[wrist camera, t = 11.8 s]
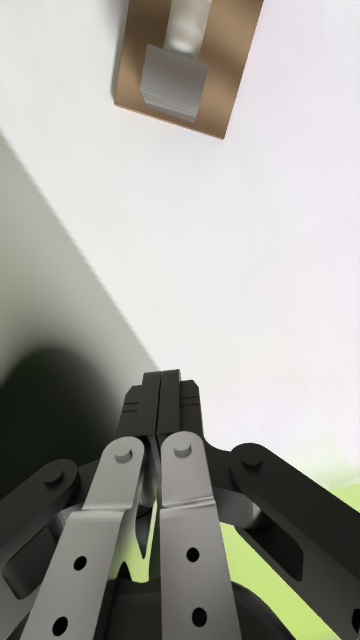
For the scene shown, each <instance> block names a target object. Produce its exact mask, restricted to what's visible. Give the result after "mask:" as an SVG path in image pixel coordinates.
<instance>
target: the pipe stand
mask: <svg viewBox="0 0 360 640" xmlns="http://www.w3.org/2000/svg"><path fill="white" fill-rule="evenodd" d="M263 1H264V0H130V1H129V8H128V15H127V21H126V28H125V34H124V41H123V48H122V54H121V61H120V68H119V74H118V81H117V87H116V94H115V101H114V104H115V105H116V106H118V107H121V108H124V109H127V110H131V111H134V112H137V113H140V114H143V115H146V116H150V117H153V118H156V119H159V120H162V121H165V122H168V123H172V124H175V125H178V126H181V127H184V128H187V129H191V130H194V131H197V132H200V133H203V134H206V135H210V136H213V137H216V138H219V139H222V140H223V139H224V137H225V134H226V130H227V127H228V123H229V120H230V116H231V113H232V109H233V106H234V102H235V99H236V95H237V92H238V88H239V85H240V81H241V78H242V74H243V71H244V67H245V64H246V60H247V57H248V53H249V50H250V46H251V43H252V39H253V36H254V32H255V29H256V25H257V22H258V18H259V15H260V11H261V8H262V4H263Z"/></svg>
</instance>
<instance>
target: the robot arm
mask: <svg viewBox="0 0 360 640" xmlns="http://www.w3.org/2000/svg"><path fill="white" fill-rule="evenodd" d="M157 484H162V501H163V502H162V507H161V508H160V543H161V544H160V545H161V546H160V547H161V576H160V577H158V578H155V579H152V580H150V581H149V578H148V568H149V558H150V552H151V545H152V538H153V531H154V524H155V516H156V510H157V501H156V494H157ZM219 521H220V522H223V523H227V524H230V525H234V527H235V529H236V531H237V532H238V533H239V535H240V536H241V537H242V538H243V539H244V540H245V541H246V542H247V543H248V544H249V545H250V546H251V547H252V548H253V549H254V550H255V551H256V552H257V553H258V554H259V555H260V556H261V557H262V558H263V559H264V560H265V561H266V562H267V563H268V564H269V565H270V566H271V568H272V569H274V571H275V572H276V573H277V574H278V575H279V576H280V577H281V578H282V579H283V580H284V581H285V582H286V583H287V584H288V585H289V586H290V587H291V588H292V589H293V590H294V591H295V592H296V593H297V594H298V595H299V596H300V597H301V598H302V599H303V600H304V601H305V602H306V604H307V605H308V606H309V607H310V608H311V609H312V610H313V611H314V612H315V613H316V614H317V615H318V616H319V617H321V619H322V620H323V621H324V622H325V623H326V624H327V625H328V626H329V627H330V628H331V629H332V630H333V631H334V632H335V633H336V634H337V635H338V636H339V637H340V638H341V639H342V640H360V513H359V512H357V511H356V510H355V509H353V508H352V507H350V506H349V505H347V504H346V503H344V502H343V501H341V500H340V499H339V498H337V497H336V496H334V495H333V494H331V493H330V492H329V491H327V490H326V489H324V488H323V487H321V486H320V485H319V484H317V483H316V482H314V481H313V480H311V479H310V478H308V477H307V476H306V475H304V474H303V473H301V472H300V471H298V470H297V469H296V468H294V467H293V466H291V465H290V464H288V463H287V462H285V461H284V460H283V459H281V458H280V457H278V456H277V455H275V454H274V453H272V452H271V451H270V450H268V449H267V448H265V447H263V446H261V445H259V444H255V443H244V444H240V445H238V446H236V447H235V448H234V449H232V451H231V452H229V451H224V450H220V449H217V448H215V447H213V446H211V445H210V444H209V443H208V442H207V441H206V440H205V438H204V433H203V422H202V413H201V404H200V395H199V387H198V386H197V385H196V383H195V382H194V381H193V380H186V381H181V374H180V369H176V370H166V371H157V372H148V373H144V375H143V382H142V385H137V386H132V387H131V389H130V390H129V391H128V393H127V394H126V396H125V400H124V405H123V408H122V413H121V416H120V421H119V425H118V429H117V433H116V437H115V440H114V441H113V442H111V443H110V444H109V445H108V446H107V447H106V448H105V450H104V452H103V454H102V457H101V458H100V459H98V460H96V461H94V462H91V463H88V464H86V465H83V466H80V467H78V468H77V467H76V465H75V463H74V462H73V461H71V460H68V459H59V460H56V461H53V462H50V463H48V464H47V465H45V466H44V467H42V468H41V469H40V470H39V471H37V472H36V473H35V474H34V475H32V476H31V477H30V478H28V479H27V480H26V481H25V482H24V483H22V484H21V485H20V486H18V487H17V488H16V489H15V490H13V491H12V492H11V493H10V494H8V495H7V496H6V497H5V498H3V499H2V500H1V501H0V640H4V639H5V638H6V637H7V636H8V635H9V634H10V633H11V631H12V630H13V629H14V628H15V627H16V626H17V625H18V624H19V622H20V621H21V620H22V619H23V618H24V617H25V616H26V615H27V614H28V613H29V611H30V610H31V609H32V610H31V613H30V614H29V615H28V616H27V617H26V618H25V619H24V620H23V621H22V622H21V623H20V624H19V625H18V626H17V627H16V628H15V630H14V631H13V632H12V633H11V634H10V635H9V637H8V638H7V639H6V640H296V639H295V638H294V636H293V635H292V634H291V633H290V631H289V630H288V629H287V628H286V627H285V626H284V624H283V623H282V622H281V621H280V619H279V618H278V617H277V616H276V614H275V613H274V612H273V611H272V610H271V609H270V607H269V606H268V605H267V604H266V603H264V601H262V600H261V599H260V598H259V597H258V596H257V595H256V594H254V593H253V592H251V591H250V590H249V589H247V588H245V587H243V586H242V585H240V584H238V583H235V582H233V581H231V580H230V574H229V569H228V564H227V559H226V553H225V548H224V543H223V538H222V533H221V527H220V522H219ZM46 524H47V527H46V528H45V529H44V530H43V531H42V532H41V533H40V534H39V535H38V536H36V537H35V538H34V539H33V540H32V542H30V543H29V544H28V545H27V546H26V547H25V548H24V549H23V550H22V551H21V552H20V553H19V554H17V555H16V556H15V557H14V558H13V559H12V560H11V561H10V562H9V563H7V561H8V560H9V559H10V558H11V557H12V556H13V555H14V554H15V553H16V552H17V551H18V550H19V549H20V548H21V547H22V546H24V545H25V544H26V543H27V542H28V541H29V540H30V539H31V538H32V537H33V536H34V535H35V534H36V533H37V532H38V531H39V530H40V529H42V528H43V527H44V526H45V525H46ZM6 563H7V564H6ZM5 564H6V565H5Z"/></svg>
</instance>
